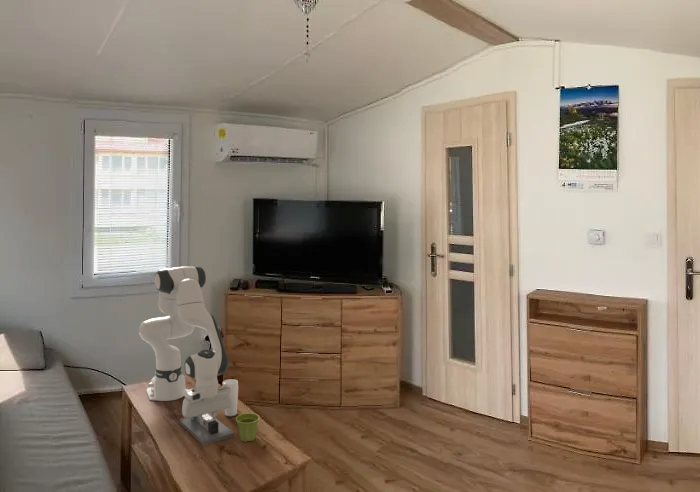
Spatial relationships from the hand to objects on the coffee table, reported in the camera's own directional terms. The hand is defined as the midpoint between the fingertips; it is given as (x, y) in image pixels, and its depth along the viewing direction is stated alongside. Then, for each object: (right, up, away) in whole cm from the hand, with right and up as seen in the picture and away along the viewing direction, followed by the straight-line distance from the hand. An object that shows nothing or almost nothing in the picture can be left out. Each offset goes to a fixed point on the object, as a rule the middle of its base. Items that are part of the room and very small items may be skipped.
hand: (207, 422), depth 223 cm
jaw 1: (-1, -2, 0) cm, 2 cm away
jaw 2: (0, -2, +1) cm, 2 cm away
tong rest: (-1, -4, +1) cm, 4 cm away
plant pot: (+18, -5, -6) cm, 19 cm away
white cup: (+6, -2, +17) cm, 18 cm away
